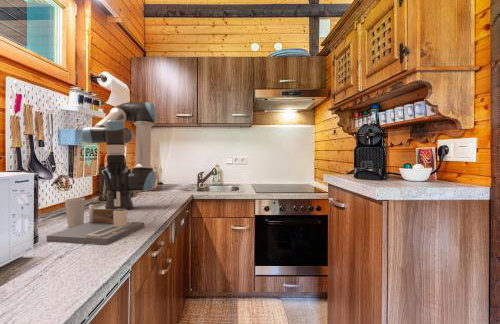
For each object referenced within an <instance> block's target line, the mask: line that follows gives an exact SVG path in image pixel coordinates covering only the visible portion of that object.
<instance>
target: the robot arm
mask: <svg viewBox="0 0 500 324" xmlns="http://www.w3.org/2000/svg"><path fill="white" fill-rule="evenodd" d="M157 121H158V113H157V110H156V106H155V104H154V103H152V102H146V101H145V102H134V101H133V102H132V101H131V102H123V103H121V104H118V105H116V106H114V107H113V108H111V110H109V112H108V114H107V115H106V116H104V117H103V118H102V119H101V120H100V121H99V122H97V123H96V124H94V126H91V127H90V126H89V127H88V126H87V127H83V128H82V130H81V138H82V140H83V142H84V143H87V144H106V154H107V155H106V164H107V165H106V166H105V169H103V170H100V173H101V174H102V176H103V180H104V182H105V186H106V190H107V199H106V203H105V206H104V209H118V208H119V209H127V211H128V210H131V209H133V208H134V202H133V200H132V198H131V194H130V192H140V191H141V192H146V191H152V190H153V189H154V187H156V186H155V185H156V182H157V181H156V180H157V173H156V170H154V168H153V167H152V166H151V161H152V160H151V159H152V157H151V156H152V154H151V153H152V149H151V148H152V127H153V126H154V125H155V122H157ZM126 122H128V123H129V122H132V123H133V125H134V126H135V127H136V128H135V135H134V132H133V130H131V129H130V128H128V127H126V126H125V123H126ZM134 137H135V157H134V158H135V159H134V160H135V161H134V166H133V167H132V170H131V168H128V167H127V165H126V156H125V154H126V144H129V143H131V142H132V141H133V140H134Z"/></svg>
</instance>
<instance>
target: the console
mask: <svg viewBox="0 0 500 324" xmlns="http://www.w3.org/2000/svg"><path fill="white" fill-rule="evenodd" d="M94 206H95V204H89V205H88V214H89V221H88V222H85V223H84V224H81V225H78V226H75V227H69V228H66V229H63V230H60V231H57V232H53V233H50V234H47V235H46V242H55V243H56V242H57V243H58V242H59V243H73V244H74V243H75V244H89V243H94V244H93V245H106V244H107V245H108V243H109V244H110V242H111V243H113V242H116V241H117V240H119V239H121V238H124V237H125V236H128V235H130V234H132V233H134V232H136V231H138V230H141V229H143V228H144V227H145V222H142V221H127V224H126V225H124V226H121V227H119V228H118V227H114V224H113V223H94V209H95V207H94Z"/></svg>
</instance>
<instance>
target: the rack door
mask: <svg viewBox="0 0 500 324" xmlns="http://www.w3.org/2000/svg"><path fill="white" fill-rule="evenodd" d="M114 210H115V209H105V208H104V209H103V208H94V223H113V211H114ZM113 224H114V223H113Z"/></svg>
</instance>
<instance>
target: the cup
mask: <svg viewBox="0 0 500 324" xmlns="http://www.w3.org/2000/svg"><path fill="white" fill-rule="evenodd" d="M85 202H86V198H85V197H75V198H74V197H73V198H68V199H67V198H66V199H64V205H65V212H66V222H67V227H69V228H72V227H75V226H78V225H81V224H84V221H85V204H86V203H85Z"/></svg>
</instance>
